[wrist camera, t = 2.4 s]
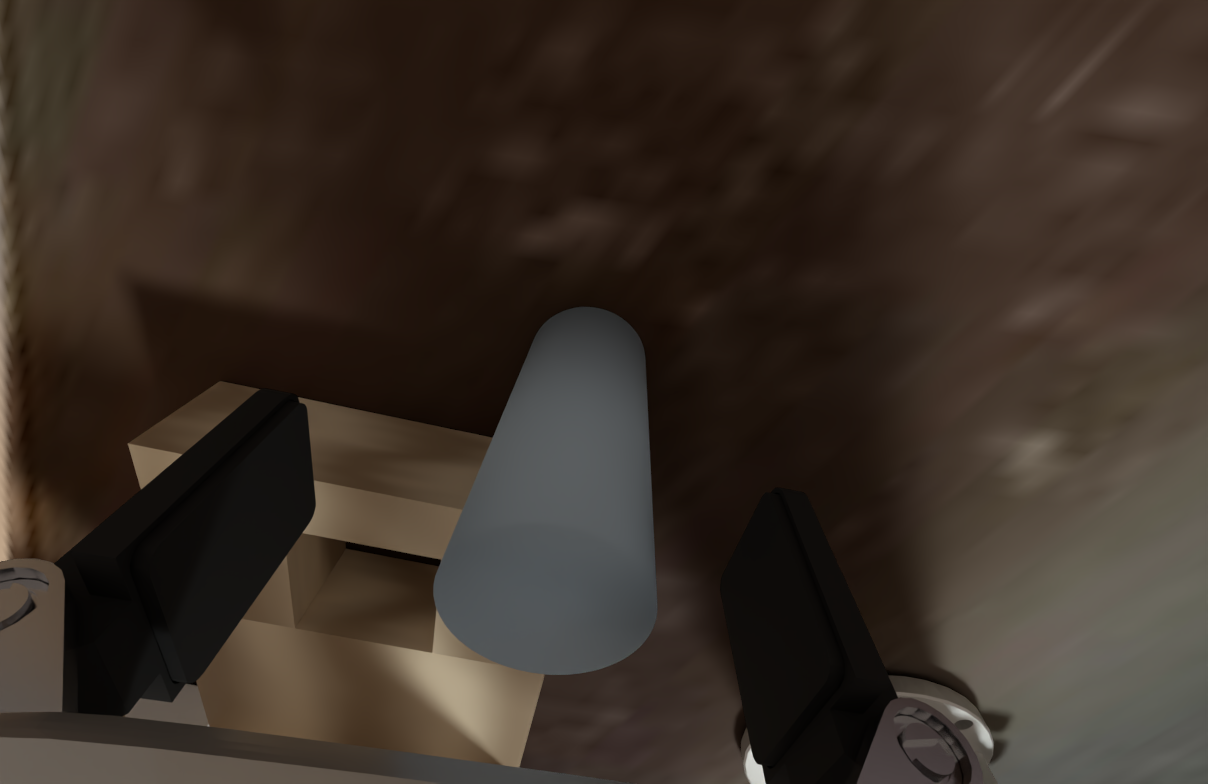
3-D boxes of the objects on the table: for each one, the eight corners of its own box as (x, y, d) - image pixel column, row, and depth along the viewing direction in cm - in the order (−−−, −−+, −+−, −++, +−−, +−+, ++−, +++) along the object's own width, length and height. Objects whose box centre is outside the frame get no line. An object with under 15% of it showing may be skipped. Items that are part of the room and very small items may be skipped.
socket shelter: (617, 463, 20) (583, 1294, 6) (541, 721, 29) (458, 1294, 15) (192, 375, 19) (-1031, 1132, 5) (250, 670, 28) (-131, 1237, 14)
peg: (659, 321, 17) (685, 550, 8) (629, 420, 19) (627, 689, 10) (540, 294, 17) (440, 501, 8) (522, 397, 19) (428, 653, 10)
